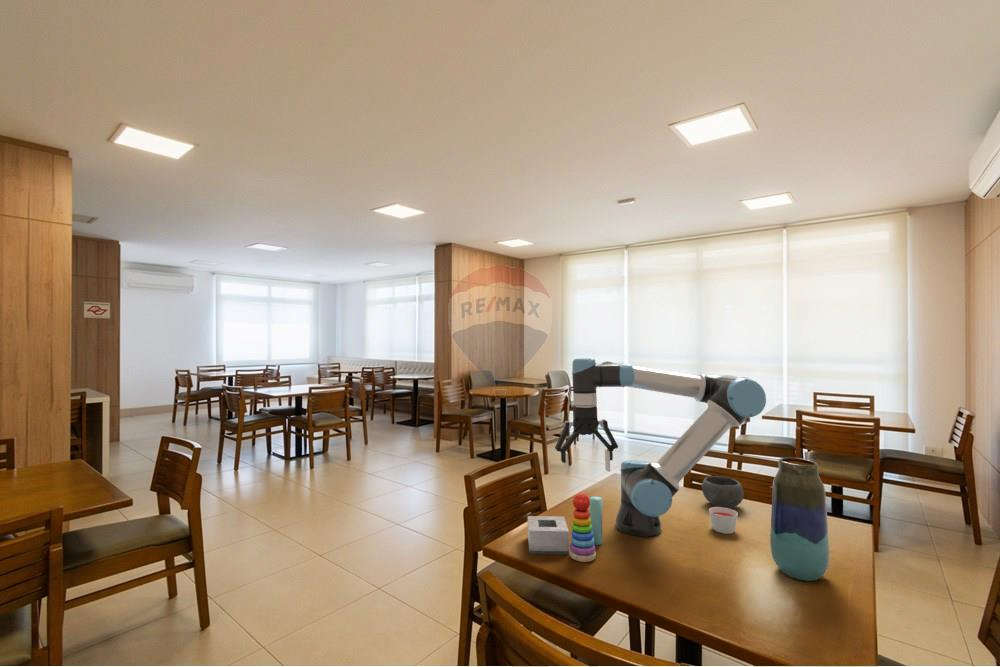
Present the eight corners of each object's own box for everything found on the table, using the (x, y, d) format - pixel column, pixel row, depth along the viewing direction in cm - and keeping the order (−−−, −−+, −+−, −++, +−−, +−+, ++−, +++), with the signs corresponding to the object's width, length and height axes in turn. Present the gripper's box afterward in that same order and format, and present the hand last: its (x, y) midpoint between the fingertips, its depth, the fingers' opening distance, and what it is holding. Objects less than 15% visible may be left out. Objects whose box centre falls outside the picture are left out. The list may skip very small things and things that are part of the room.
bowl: (751, 512, 174) (751, 486, 174) (712, 512, 174) (712, 486, 174) (732, 499, 189) (732, 475, 189) (696, 499, 189) (695, 475, 189)
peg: (601, 539, 149) (600, 496, 150) (603, 545, 145) (603, 500, 146) (588, 539, 149) (588, 496, 150) (591, 544, 145) (590, 500, 146)
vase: (832, 592, 118) (830, 470, 119) (769, 577, 125) (768, 463, 126) (827, 570, 130) (826, 459, 130) (771, 557, 137) (770, 453, 138)
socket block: (563, 537, 150) (563, 516, 151) (568, 554, 138) (568, 531, 139) (527, 537, 151) (527, 516, 151) (529, 554, 139) (529, 530, 139)
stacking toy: (597, 553, 139) (597, 491, 140) (594, 565, 132) (594, 499, 132) (571, 549, 142) (571, 488, 143) (567, 560, 134) (567, 496, 135)
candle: (731, 537, 151) (731, 518, 151) (704, 529, 158) (704, 511, 158) (742, 530, 157) (742, 512, 157) (715, 522, 164) (715, 505, 164)
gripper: (618, 402, 153) (621, 466, 152) (545, 405, 151) (547, 470, 151) (626, 405, 145) (628, 472, 145) (549, 408, 144) (551, 476, 143)
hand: (587, 471), depth 148 cm, fingers open, 13 cm apart
